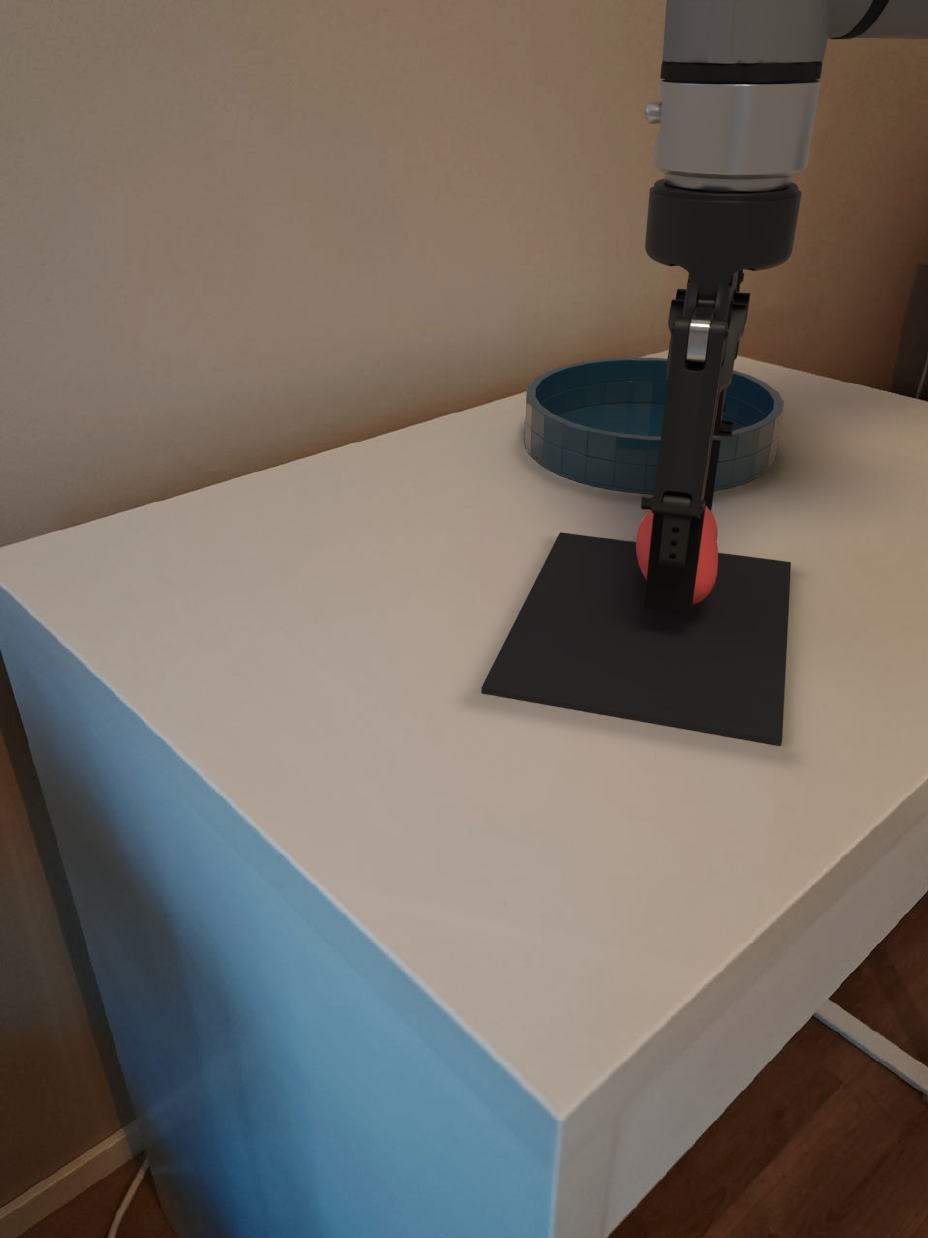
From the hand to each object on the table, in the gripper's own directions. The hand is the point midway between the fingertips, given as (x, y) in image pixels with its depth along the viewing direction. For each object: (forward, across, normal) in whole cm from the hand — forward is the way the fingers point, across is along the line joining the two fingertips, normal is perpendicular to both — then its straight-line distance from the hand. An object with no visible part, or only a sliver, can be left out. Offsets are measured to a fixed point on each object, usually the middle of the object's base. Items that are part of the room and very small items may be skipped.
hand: (678, 567), depth 60 cm
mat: (+3, +3, -1) cm, 4 cm away
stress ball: (+1, 0, 0) cm, 1 cm away
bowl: (+3, -27, -6) cm, 28 cm away
